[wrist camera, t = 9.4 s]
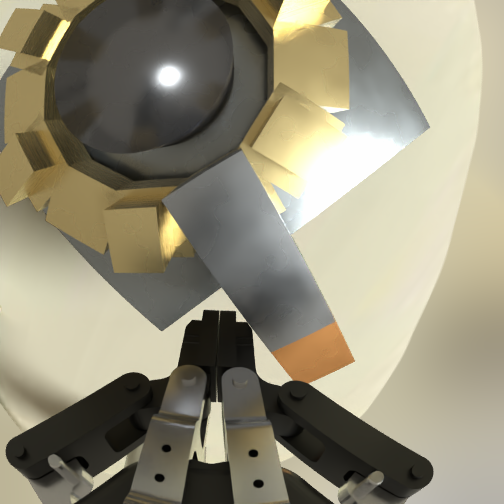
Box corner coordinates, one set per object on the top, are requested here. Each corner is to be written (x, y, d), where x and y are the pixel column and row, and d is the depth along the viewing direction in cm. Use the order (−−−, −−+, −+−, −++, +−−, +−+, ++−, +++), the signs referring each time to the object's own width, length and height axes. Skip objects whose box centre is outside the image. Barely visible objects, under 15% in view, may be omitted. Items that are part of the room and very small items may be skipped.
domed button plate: (397, 125, 16) (482, 132, 9) (172, 298, 21) (146, 382, 13) (211, -66, 9) (203, -132, 2) (12, 114, 14) (-63, 122, 6)
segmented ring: (228, -77, 6) (227, -120, 2) (420, 258, 15) (461, 294, 11) (2, 79, 9) (-44, 77, 5) (198, 371, 17) (192, 422, 14)
